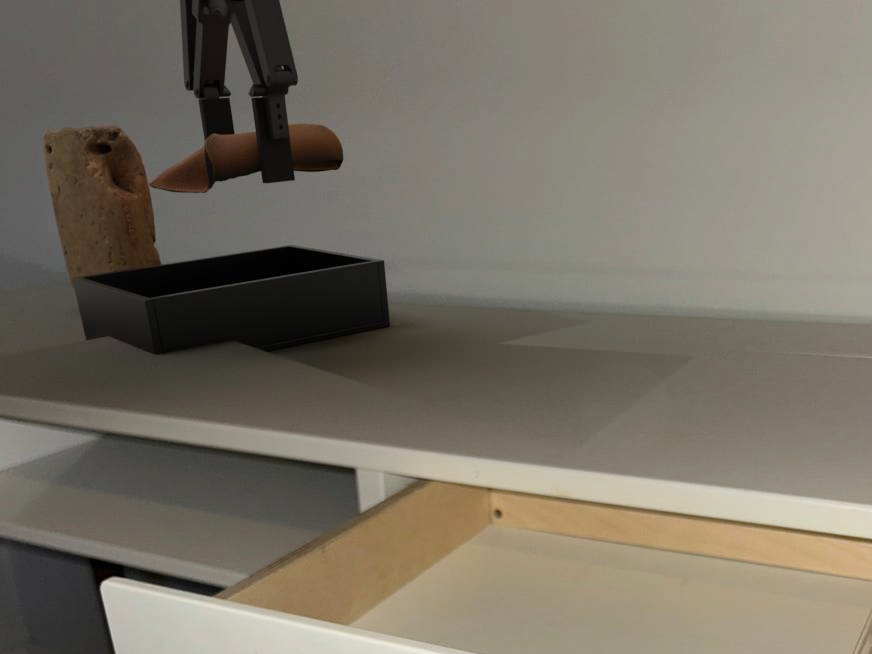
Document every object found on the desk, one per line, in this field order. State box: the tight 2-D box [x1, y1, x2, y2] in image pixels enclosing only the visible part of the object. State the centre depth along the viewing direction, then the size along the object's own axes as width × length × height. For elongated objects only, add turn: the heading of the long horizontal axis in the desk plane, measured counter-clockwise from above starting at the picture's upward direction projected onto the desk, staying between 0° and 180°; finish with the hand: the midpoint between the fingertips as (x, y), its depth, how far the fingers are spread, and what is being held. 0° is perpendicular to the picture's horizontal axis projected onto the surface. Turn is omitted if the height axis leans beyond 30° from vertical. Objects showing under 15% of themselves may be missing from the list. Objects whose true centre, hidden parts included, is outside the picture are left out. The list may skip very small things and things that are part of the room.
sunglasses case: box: [148, 122, 344, 194], centre depth 95 cm, size 18×7×7 cm
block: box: [42, 124, 162, 291], centre depth 123 cm, size 11×8×20 cm
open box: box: [72, 244, 391, 356], centre depth 111 cm, size 26×20×7 cm
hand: (251, 179), depth 96 cm, fingers closed on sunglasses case, 10 cm apart
